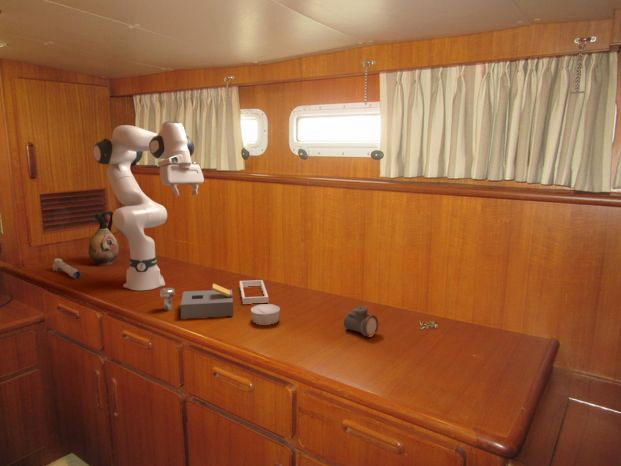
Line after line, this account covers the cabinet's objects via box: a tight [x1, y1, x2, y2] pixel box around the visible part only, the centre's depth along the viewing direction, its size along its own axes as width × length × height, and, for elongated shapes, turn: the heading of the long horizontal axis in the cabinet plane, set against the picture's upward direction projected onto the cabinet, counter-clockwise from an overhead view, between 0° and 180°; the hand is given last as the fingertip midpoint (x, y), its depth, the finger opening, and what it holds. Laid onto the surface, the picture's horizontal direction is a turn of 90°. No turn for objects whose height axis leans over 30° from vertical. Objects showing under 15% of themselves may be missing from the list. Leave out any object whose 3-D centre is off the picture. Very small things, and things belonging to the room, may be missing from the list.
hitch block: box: [180, 289, 234, 320], centre depth 181 cm, size 16×20×6 cm
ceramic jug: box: [88, 210, 120, 267], centre depth 246 cm, size 17×15×30 cm
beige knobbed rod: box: [51, 258, 82, 280], centre depth 228 cm, size 5×7×25 cm
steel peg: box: [159, 287, 176, 311], centre depth 181 cm, size 6×6×8 cm
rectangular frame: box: [239, 279, 269, 305], centre depth 201 cm, size 25×11×3 cm, turn 12°
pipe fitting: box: [343, 305, 379, 338], centre depth 162 cm, size 12×8×10 cm
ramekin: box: [250, 303, 281, 326], centre depth 171 cm, size 11×11×5 cm
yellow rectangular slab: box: [211, 283, 234, 298], centre depth 181 cm, size 6×9×1 cm
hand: (186, 195), depth 176 cm, fingers open, 8 cm apart
